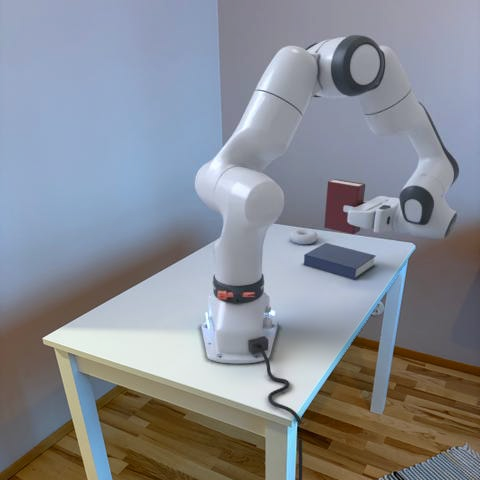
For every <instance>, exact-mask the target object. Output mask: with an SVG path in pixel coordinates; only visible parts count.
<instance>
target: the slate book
mask: <svg viewBox="0 0 480 480" xmlns="http://www.w3.org/2000/svg"><path fill="white" fill-rule="evenodd" d="M303 256H304V257H303V265H305V266H307V267H311V268H314V269H317V270H321V271H324V272H328V273H331V274H334V275H338V276H340V277H344V278H348V279H351V280H356V279H358V278H359V277H361V276H362V275H363V274H365V273H366V272H368V271H369V270H371V269H372V268H374V267H375V264H374V263H375V258H376V257H377V255H375V254H371V253H368V252H363V251H359V250H356V249H353V248H348V247H345V246H340V245H336V244H332V243H328V242H325V243H322V244H321V245H319V246H318V247H315V248H314V249H312V250H310V251H308V252H306V253H305V254H304V255H303Z"/></svg>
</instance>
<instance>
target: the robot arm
mask: <svg viewBox="0 0 480 480" xmlns="http://www.w3.org/2000/svg"><path fill="white" fill-rule="evenodd" d="M347 97H355V98H356V100H357V101H358V103H359V108H360V109H361V112H362V114H363V116H364V117H363V118H364V119H365V122H366V123H367V124H366V125H367V126H368V127H369V129H370V131H371V132H372V133H373V134H374V135H376V136H378V137H381V138H386V139H393V138H398V137H400V136H405V135H407V136H408V138H409V140H410V142H411V144H412V146H413V148H414V149H415V150H414V151H416V154H417V155H418V164H417V166H416V169H415V170H414V172H413V173H412V175H411V176H410V178H409V179H408V180H407V182H406V183H405V184H404V186H403V187H402V189H401V191H400V193H399V196H398V197H390V196H386V195H378V196H376V197H374V198H372V199H370V200H364V201H363V204H362V205H359V206H357V207H352V205H345V206H344V208H343V211H344V212H348V218H347V222H348V223H349V224H351V225H354V226H357V227H360V229H365V230H373V232H374V233H375V234H382V233H387V232H391V233H392V232H396V233H399V234H403V233H405V234H411V235H412V236H414V237H419V238H423V239H430V240H443V239H446V238H447V237H448V236H449V235H450V234H451V231H452V230H453V228H454V225H455V223H456V222H457V217H458V212H457V211H456V210H454V209H452V208H451V207H450V206H449V204H448V203H447V201H446V198H445V195H446V194H447V193H448V191H449V189H450V188H451V187H452V186H453V184H455V182H456V181H457V179H458V178H459V174H460V167H459V164H458V162H457V160H456V159H455V158H454V156H453V155H452V154H451V153H450V152H449V150H448V149H447V148H446V146H445V144H444V142H443V140H442V138H441V136H440V134H439V131H438V130H437V127H436V125H435V124H434V121H433V119H432V117H431V115H430V113H429V112H428V110H427V109H426V107H425V106H424V104H423V103H422V102H420V101H418V100H417V97H416V96H415V94H414V91H413V89H412V85H411V83H410V80H409V78H408V76H407V72H406V71H405V69H404V67H403V65H402V63H401V62H400V60H399V58H398V56H397V54H396V53H395V51H394V50H393V49H392V48H391V47H389V46H387V45H378V43H377V42H375V40H373V39H372V38H370V37H368V36H366V35H361V34H352V35H349V36H341V37H340V36H339V37H338V36H337V37H331V38H327V39H326V40H322V41H320V42H314V43H313V44H310V45H309V46H307V47H306V48H303V47H300V46H297V45H286V46H284V47H282V48H280V49H279V50H278V51H277V52H276V54H275V55H274V57H273V58H272V60H271V61H270V63H269V64H268V66H266V69H265V71H264V72H263V74H262V76H261V77H260V80H259V81H258V83H257V85H256V87H255V89H254V91H253V93H252V95H251V98H250V100H249V102H248V104H247V107H246V108H245V110H244V112H243V115H242V117H241V119H240V121H239V123H238V124H237V126H236V128H235V130H234V131H233V133H232V135H231V136H230V137H229V139H228V140H227V141H226V142H225V143H224V145H223V146H222V147H221V149H220V150H219V151H218V152H217V154H216V155H215V156H214V157H213V158H212V159H211V160H209V161H208V162H206V163H204V164H202V166H201V167H200V168H199V169H198V171H197V173H196V175H195V177H194V178H195V179H194V189H195V192H196V195H197V196H198V198H199V199H200V200H201V202H202V203H204V205H206V207H207V208H209V209H210V210H213V211H214V212H216V213H217V214H220V215H221V217H222V221H223V223H222V230H221V234H220V236H219V237H218V238H217V239H216V241H215V242H214V243H213V249H212V250H213V262H214V263H213V265H214V266H213V267H214V268H213V270H214V274H213V276H212V289H213V292H212V293H211V294H210V295H209V296H208V312H205V318H206V320H205V321H204V322H202V323H201V333H202V338H203V342H204V346H205V352H206V356H207V357H206V358H207V359H208V360H210V361H213V362H217V363H222V364H237V365H238V364H239V365H240V364H252V363H253V364H254V363H260V362H263V361H264V362H265V365H266V372H267V375H268V377H269V378H270V379H271V380H272V381H275V382H279V383H284V384H285V385H284V386H282V387H280V388H278V389H275V390H273V391H271V392H270V393H269V394H268V396H267V401H268V403H269V404H270V405H271V406H274V407H276V408H279V409H282V410H285V411H286V412H288V413H290V414H291V415H292V416H293V417H294V419H295V420H296V423H297V424H299V425H301V424H302V420H301V418H300V416H299V415H298V413H297V412H296V411H295V410H294V409H293V408H291V407H289V406H287V405H284V404H280V403H279V402H275V401H274V400H273V396H275V395H277V394H280V393H281V392H284V391H286V390H287V389H288V388H289V386H290V382H289V380H287V379H285V378H282V377H281V378H280V377H276V376H275V375H273V374H272V371H271V363H270V360H269V358H270V356H271V353H272V350H273V346H274V342H275V338H276V335H277V331H278V328H279V327H278V323H277V322H276V321H274V320H272V318H271V316H276V311H274V310H272V306H270V305H271V303H270V301H271V300H270V299H271V298H270V297H271V296H270V295H268V294H267V293H266V292H265V276H264V273H263V251H264V242H265V240H266V239H265V238H266V236H267V232H268V230H269V228H270V227H271V226H273V225H274V224H275V223H276V222H277V221H278V220H279V218H280V217H281V215H282V213H283V211H284V208H285V195H284V192H283V189H282V188H281V186H280V185H279V184H278V183H277V182H276V181H274V179H272V178H271V177H269V176H268V175H266V174H265V173H264V172H263V171H264V170H265V169H266V168H267V167H268V165H269V164H270V163H272V162H273V161H274V160H276V159H278V158H280V157H282V156H283V155H284V154H285V153H286V151H287V150H288V148H289V146H290V143H291V142H292V140H293V138H294V135H295V134H296V132H297V129H298V127H299V125H300V123H301V121H302V119H303V117H304V115H305V112H306V110H307V108H308V106H309V103H310V102H311V101H312V99H313V98H329V99H342V98H347ZM297 444H298V445H297V449H298V451H297V452H298V480H303V439H298V442H297Z"/></svg>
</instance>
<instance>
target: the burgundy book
mask: <svg viewBox="0 0 480 480" xmlns="http://www.w3.org/2000/svg"><path fill="white" fill-rule="evenodd" d="M365 191H366V183H363V182H356V181H350V180H345V179H338V178H334V179H333V180H331V181H327V189H326V201H325V213H324V226H323V228H325V229H329V230H333V231H337V232H341V233H346V234H350V235H355V234H357V233H359V232H360V231H361V227H357V226H354V225H351V224H349V223H348V222H347V218H348V212H344V211H343V208H344V206H345V205H352V207H357V206H359V205H362V204H363V201H365V200H364V199H365Z"/></svg>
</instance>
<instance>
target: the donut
mask: <svg viewBox="0 0 480 480" xmlns="http://www.w3.org/2000/svg"><path fill="white" fill-rule="evenodd" d="M318 235H319V234H318V233H317V231H315V230H313V229H310V228H296V229H293V231H290V234H289V239H290V241H291V242H293V243H294V244H297V245H311V244H313V243H315V242H317V240H318V237H319V236H318Z"/></svg>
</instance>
